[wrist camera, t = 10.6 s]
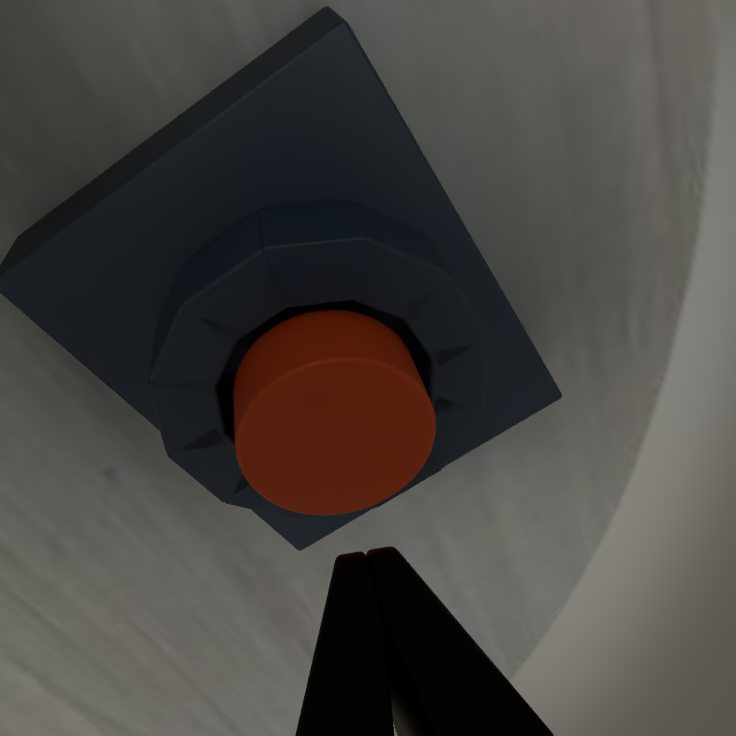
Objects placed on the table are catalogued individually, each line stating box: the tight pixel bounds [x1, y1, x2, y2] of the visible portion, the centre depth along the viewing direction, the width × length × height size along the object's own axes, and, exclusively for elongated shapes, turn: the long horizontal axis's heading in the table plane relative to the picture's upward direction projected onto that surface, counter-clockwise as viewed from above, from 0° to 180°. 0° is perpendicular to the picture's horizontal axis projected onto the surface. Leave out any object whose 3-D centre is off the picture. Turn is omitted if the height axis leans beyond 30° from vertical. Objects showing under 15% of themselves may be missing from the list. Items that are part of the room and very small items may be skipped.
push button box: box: [0, 6, 562, 551], centre depth 15 cm, size 10×8×4 cm
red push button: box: [233, 309, 436, 515], centre depth 13 cm, size 4×4×2 cm
